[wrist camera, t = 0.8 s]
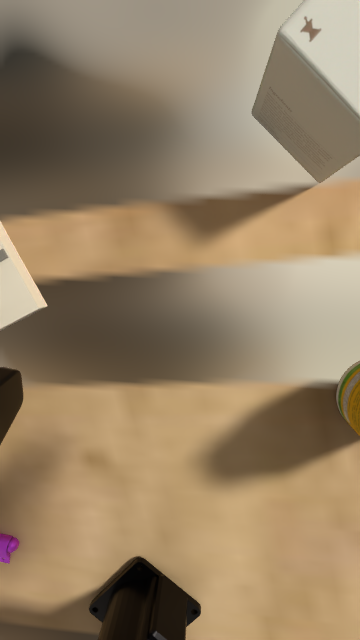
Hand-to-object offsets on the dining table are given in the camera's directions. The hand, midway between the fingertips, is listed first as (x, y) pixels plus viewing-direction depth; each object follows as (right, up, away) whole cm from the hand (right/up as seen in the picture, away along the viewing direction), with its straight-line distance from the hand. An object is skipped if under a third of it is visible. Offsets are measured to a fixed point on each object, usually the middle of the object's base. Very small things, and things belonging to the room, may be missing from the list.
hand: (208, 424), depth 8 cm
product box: (+8, +15, +12) cm, 21 cm away
